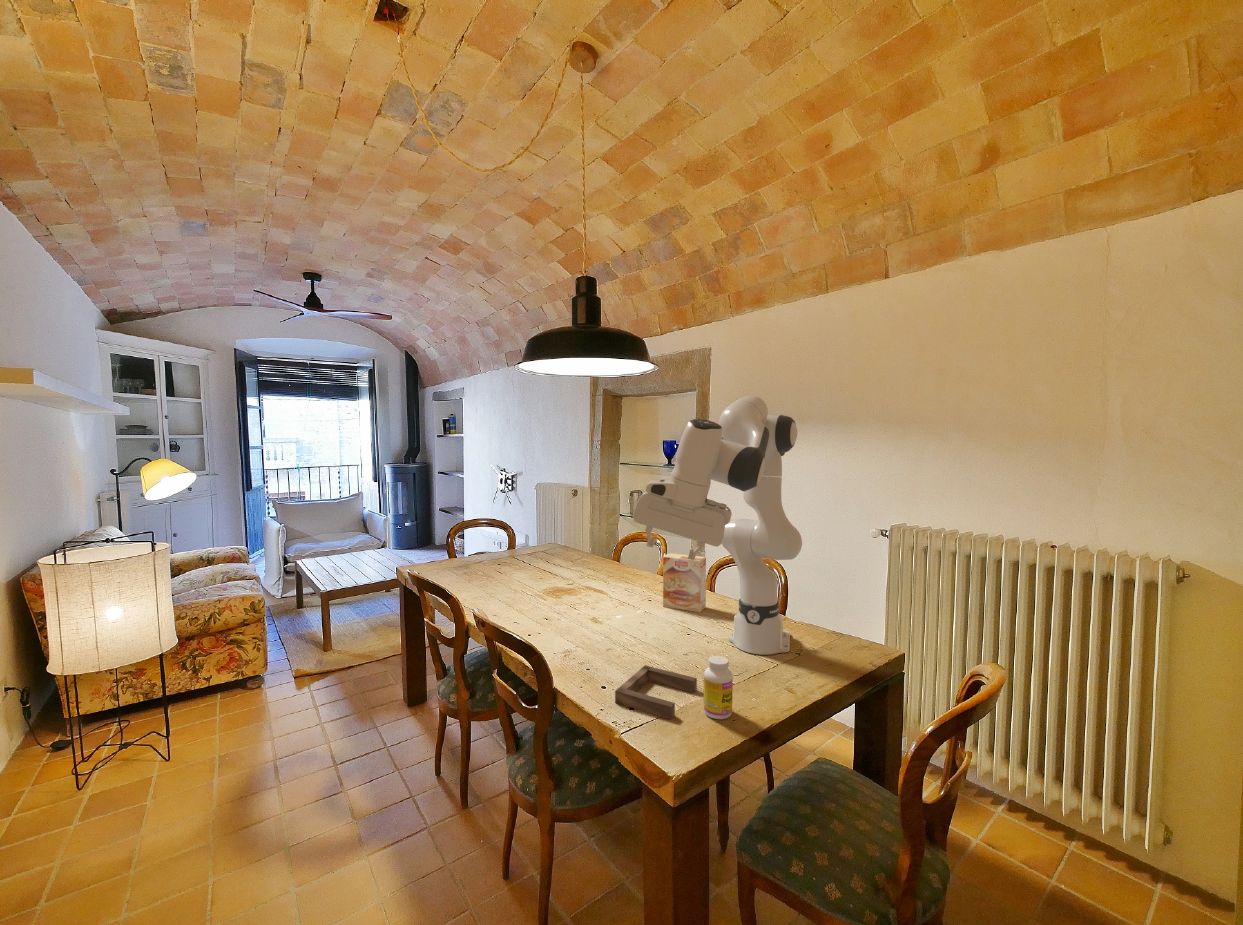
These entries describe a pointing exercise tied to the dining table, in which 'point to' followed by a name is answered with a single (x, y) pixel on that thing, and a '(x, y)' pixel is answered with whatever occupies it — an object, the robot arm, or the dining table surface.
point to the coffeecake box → (684, 582)
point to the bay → (650, 704)
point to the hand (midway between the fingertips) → (670, 552)
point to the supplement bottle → (718, 688)
